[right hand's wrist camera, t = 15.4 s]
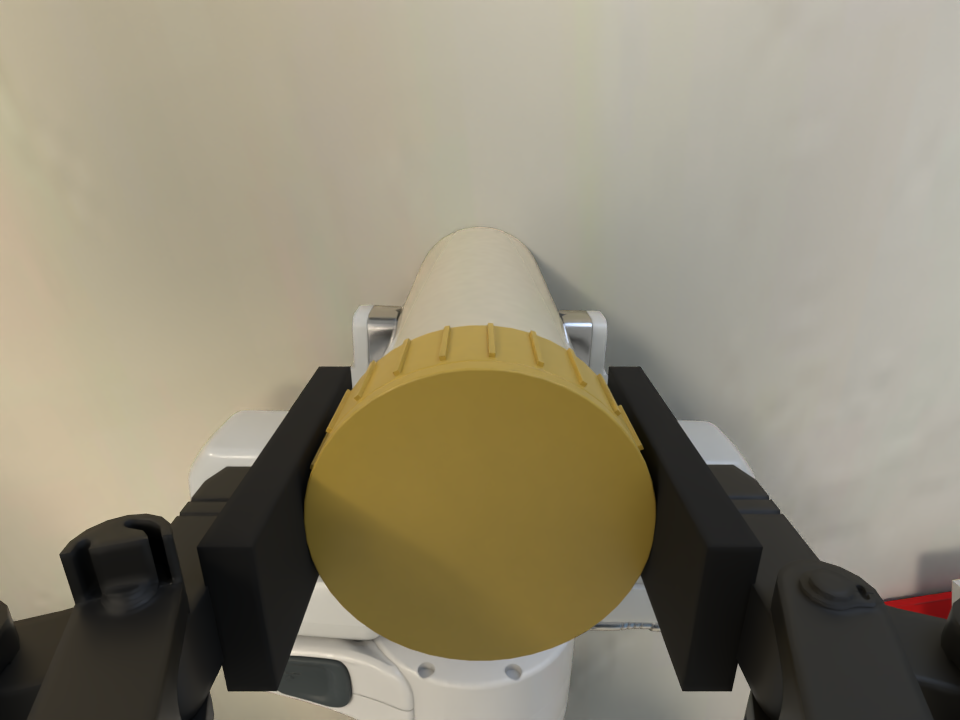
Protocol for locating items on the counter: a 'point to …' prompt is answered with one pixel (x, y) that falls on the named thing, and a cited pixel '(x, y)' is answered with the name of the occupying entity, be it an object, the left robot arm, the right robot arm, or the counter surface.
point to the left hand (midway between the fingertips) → (479, 311)
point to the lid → (479, 496)
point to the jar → (479, 289)
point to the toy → (930, 602)
